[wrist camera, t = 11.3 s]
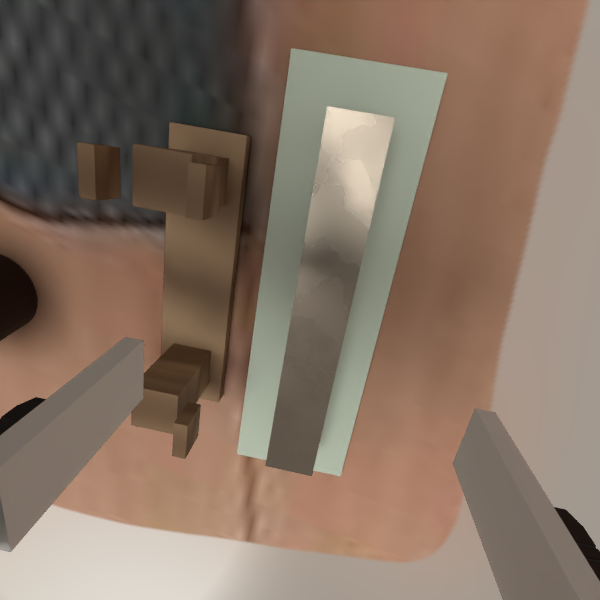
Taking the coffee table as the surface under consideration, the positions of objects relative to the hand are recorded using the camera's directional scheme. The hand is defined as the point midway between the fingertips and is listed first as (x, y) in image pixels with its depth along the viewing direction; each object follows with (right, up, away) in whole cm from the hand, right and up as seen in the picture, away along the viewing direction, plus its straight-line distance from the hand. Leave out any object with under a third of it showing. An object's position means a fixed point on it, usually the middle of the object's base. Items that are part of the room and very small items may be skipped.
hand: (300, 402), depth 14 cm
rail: (+2, +4, +12) cm, 12 cm away
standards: (-7, +6, +13) cm, 16 cm away
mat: (+2, +4, +12) cm, 13 cm away
